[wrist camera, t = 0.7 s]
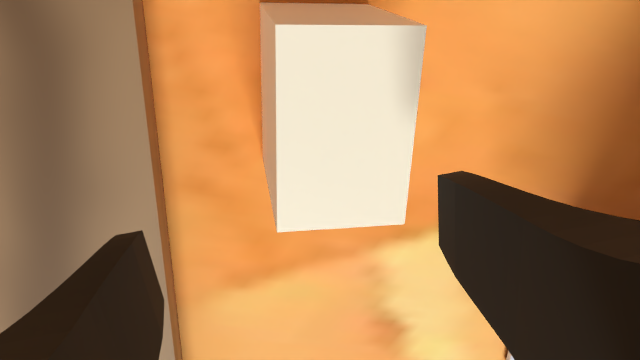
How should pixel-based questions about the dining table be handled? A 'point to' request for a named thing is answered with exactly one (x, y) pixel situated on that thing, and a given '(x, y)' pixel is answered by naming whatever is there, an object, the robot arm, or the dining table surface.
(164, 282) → the walnut plank
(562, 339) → the robot arm
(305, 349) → the dining table surface
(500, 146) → the dining table surface
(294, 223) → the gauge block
